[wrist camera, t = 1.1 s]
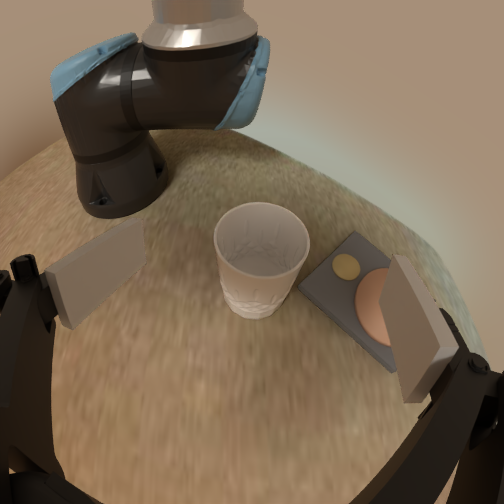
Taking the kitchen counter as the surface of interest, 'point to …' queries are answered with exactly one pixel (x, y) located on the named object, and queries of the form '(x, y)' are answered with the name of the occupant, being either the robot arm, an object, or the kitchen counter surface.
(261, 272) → the white cup
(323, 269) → the board
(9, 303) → the robot arm
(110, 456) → the kitchen counter surface
